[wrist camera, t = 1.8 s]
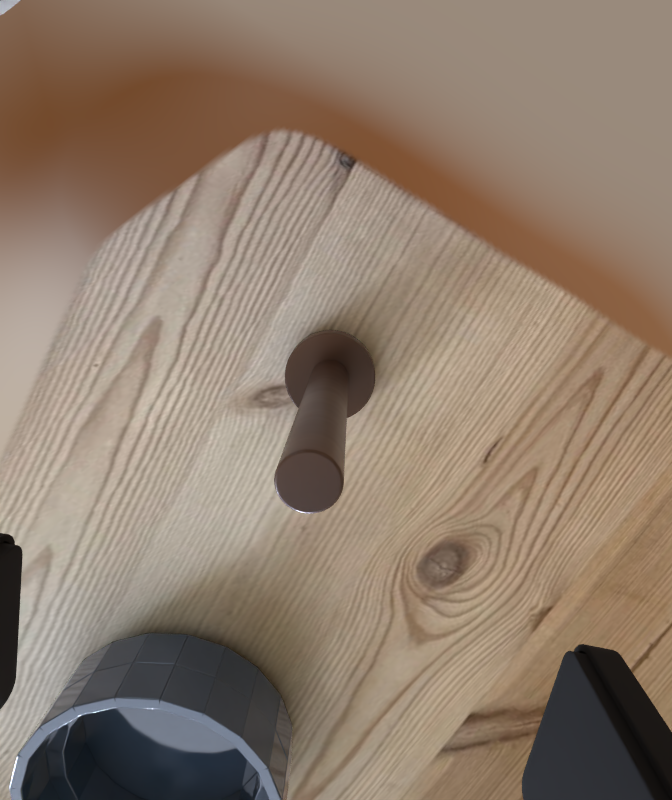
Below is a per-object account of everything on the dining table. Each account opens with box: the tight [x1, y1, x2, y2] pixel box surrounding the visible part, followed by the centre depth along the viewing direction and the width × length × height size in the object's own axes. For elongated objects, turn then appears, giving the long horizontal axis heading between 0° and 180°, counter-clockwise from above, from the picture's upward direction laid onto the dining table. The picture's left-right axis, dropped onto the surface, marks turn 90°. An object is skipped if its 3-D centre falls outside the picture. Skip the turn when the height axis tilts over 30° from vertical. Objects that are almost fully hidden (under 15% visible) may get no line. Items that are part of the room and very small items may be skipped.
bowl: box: [10, 633, 292, 800], centre depth 34 cm, size 15×15×6 cm
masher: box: [274, 330, 375, 513], centre depth 23 cm, size 5×5×15 cm
